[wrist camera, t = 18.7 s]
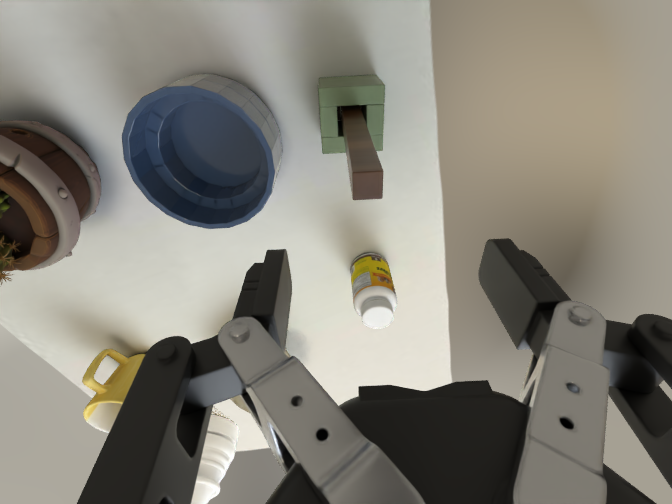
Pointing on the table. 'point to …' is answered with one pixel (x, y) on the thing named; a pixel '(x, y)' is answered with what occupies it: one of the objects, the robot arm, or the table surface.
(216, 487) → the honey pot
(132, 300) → the table surface
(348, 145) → the brown stick
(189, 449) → the robot arm
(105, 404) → the mug
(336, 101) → the stick holder
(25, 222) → the flowerpot
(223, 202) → the blue round tub
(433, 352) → the table surface
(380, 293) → the supplement bottle
